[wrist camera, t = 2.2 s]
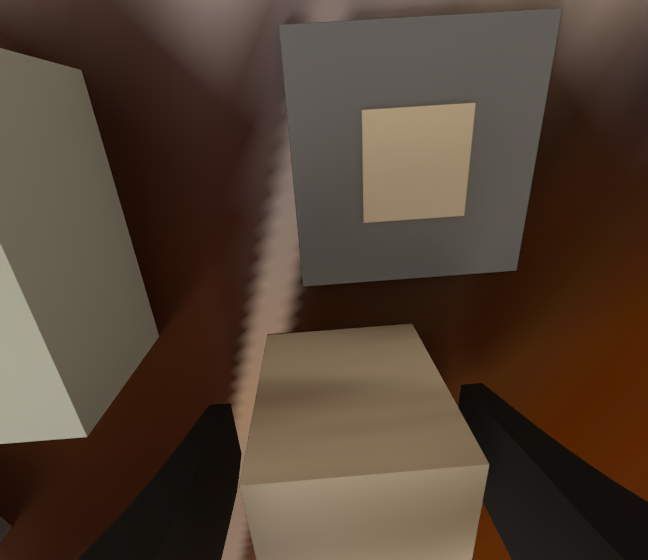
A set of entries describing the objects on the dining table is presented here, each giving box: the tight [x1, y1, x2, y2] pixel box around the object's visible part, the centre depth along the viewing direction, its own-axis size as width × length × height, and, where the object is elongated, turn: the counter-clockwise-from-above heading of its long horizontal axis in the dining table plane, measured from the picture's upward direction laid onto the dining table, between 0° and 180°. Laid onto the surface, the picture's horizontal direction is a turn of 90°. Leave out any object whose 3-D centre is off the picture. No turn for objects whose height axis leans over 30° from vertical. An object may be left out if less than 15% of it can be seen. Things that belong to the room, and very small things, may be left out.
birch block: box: [239, 324, 489, 560], centre depth 9 cm, size 4×4×5 cm
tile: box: [279, 8, 562, 286], centre depth 9 cm, size 6×6×1 cm
